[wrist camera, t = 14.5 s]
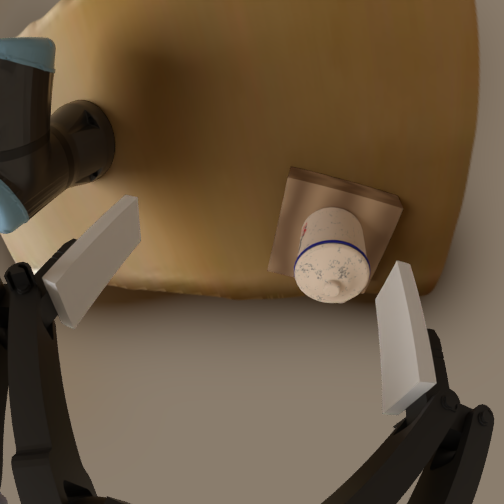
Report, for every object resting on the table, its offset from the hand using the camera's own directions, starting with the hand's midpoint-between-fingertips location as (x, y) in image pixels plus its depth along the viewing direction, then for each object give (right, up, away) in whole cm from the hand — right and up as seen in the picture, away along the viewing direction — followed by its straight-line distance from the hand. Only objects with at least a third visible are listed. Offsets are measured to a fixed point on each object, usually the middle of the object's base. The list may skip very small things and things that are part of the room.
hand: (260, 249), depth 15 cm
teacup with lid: (+11, +1, +28) cm, 30 cm away
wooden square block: (+12, +4, +31) cm, 33 cm away
